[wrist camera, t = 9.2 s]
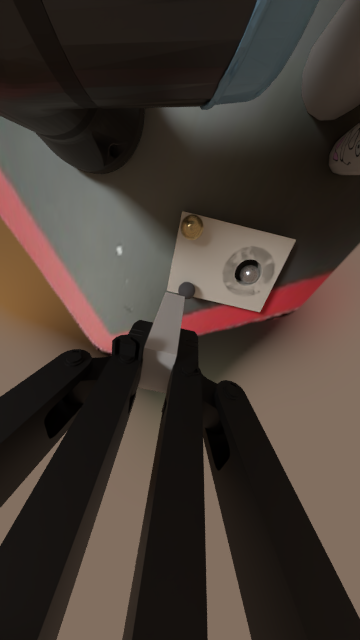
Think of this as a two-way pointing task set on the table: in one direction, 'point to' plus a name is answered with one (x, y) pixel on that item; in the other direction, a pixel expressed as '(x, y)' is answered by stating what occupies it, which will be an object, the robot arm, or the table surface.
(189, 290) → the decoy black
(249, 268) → the steel ball
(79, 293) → the table surface
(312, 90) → the cup
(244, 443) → the robot arm
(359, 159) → the cup
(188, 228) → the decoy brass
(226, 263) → the plate
